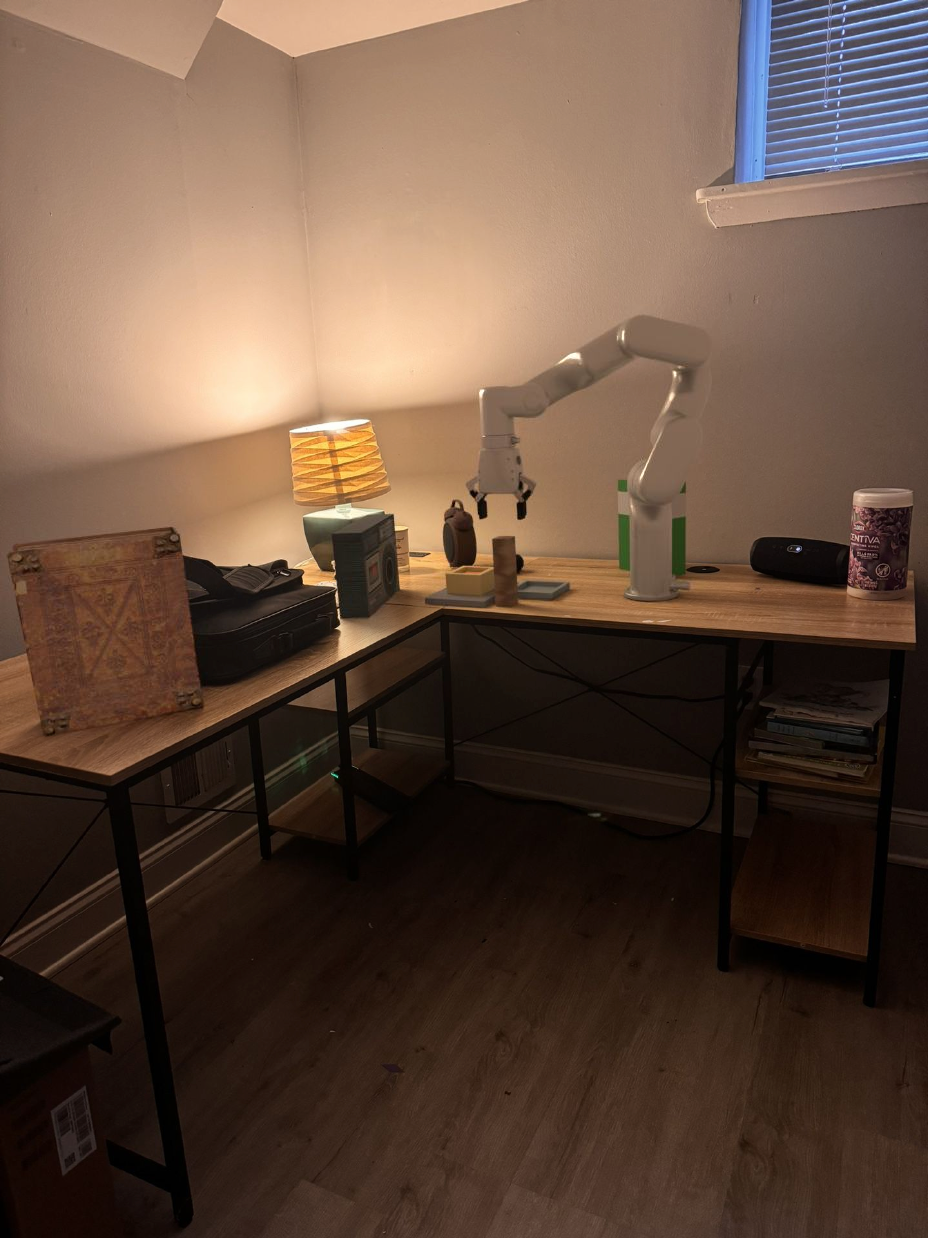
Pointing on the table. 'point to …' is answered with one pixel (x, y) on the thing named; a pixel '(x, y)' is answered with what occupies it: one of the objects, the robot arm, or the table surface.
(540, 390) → the robot arm
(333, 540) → the cassette player
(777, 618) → the table surface
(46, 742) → the table surface
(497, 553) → the rod
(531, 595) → the tray
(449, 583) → the yellow socket holder
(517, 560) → the microphone
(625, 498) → the green white tall box
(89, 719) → the book
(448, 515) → the alarm clock
